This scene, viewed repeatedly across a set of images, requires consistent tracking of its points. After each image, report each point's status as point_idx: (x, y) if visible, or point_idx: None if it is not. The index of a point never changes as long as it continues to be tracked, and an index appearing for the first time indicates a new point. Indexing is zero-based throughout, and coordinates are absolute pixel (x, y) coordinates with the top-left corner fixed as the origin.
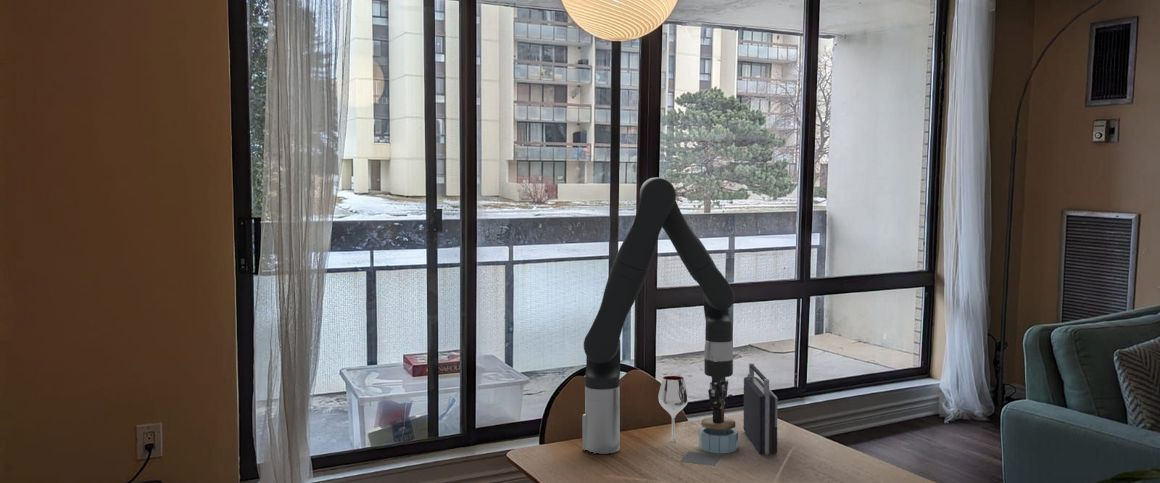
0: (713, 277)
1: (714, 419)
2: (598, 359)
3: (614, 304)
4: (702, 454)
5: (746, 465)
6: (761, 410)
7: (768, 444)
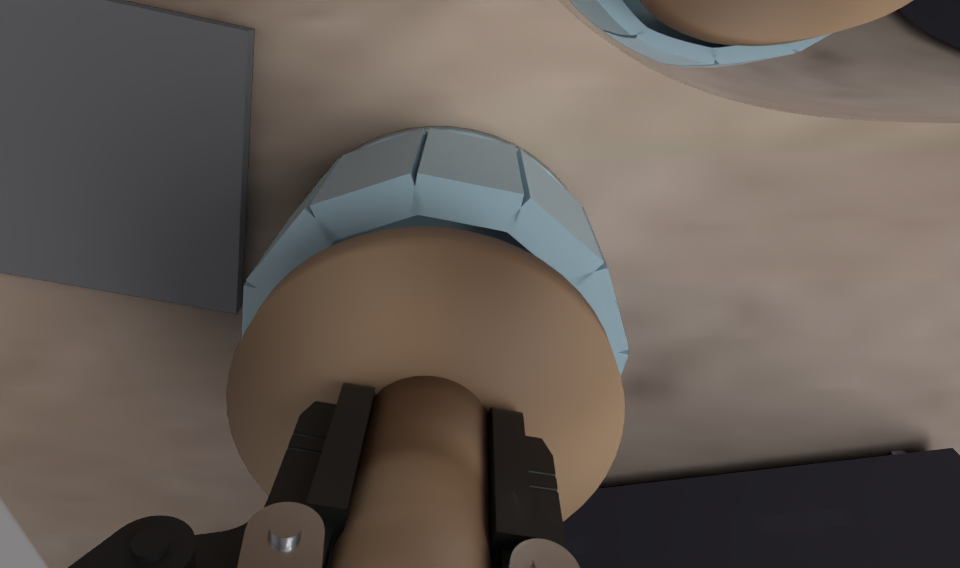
0: None
1: (300, 424)
2: None
3: None
4: (199, 164)
5: (124, 441)
6: None
7: None
